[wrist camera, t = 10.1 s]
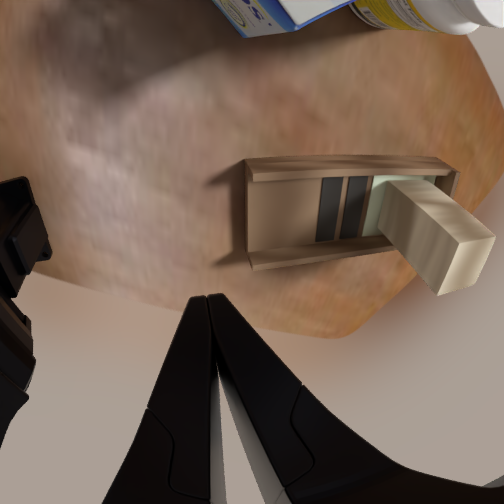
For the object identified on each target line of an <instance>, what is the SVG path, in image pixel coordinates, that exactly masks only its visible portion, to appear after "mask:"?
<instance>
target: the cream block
mask: <svg viewBox="0 0 504 504" xmlns="http://www.w3.org/2000/svg"><path fill="white" fill-rule="evenodd" d="M377 227H378V229H379V230H380V231H381V232H382V233H383V234H384V235H385V236H386V237H387V238H388V239H389V241H390V242H391V243H392V244H393V245H394V246H395V247H396V248H397V250H398V251H399V252H400V253H401V254H402V255H403V256H404V258H405V259H406V260H407V261H408V262H409V263H410V265H411V266H412V267H413V268H414V269H415V270H416V272H417V273H418V274H419V275H420V276H421V278H422V279H423V280H424V281H425V282H426V284H427V285H428V286H429V287H430V289H431V290H432V291H433V292H434V293H435V295H436V296H438V295H442V294H445V293H449V292H452V291H455V290H458V289H462V288H465V287H468V286H471V285H474V284H475V282H476V280H477V278H478V276H479V274H480V272H481V270H482V268H483V266H484V264H485V261H486V259H487V257H488V255H489V253H490V250H491V248H492V246H493V243H494V241H495V239H496V236H495V235H494V234H493V233H492V232H491V231H490V230H488V228H486V227H485V226H484V225H483V224H482V223H481V222H479V221H478V220H477V219H476V218H475V217H474V216H472V215H471V214H470V213H469V212H468V211H466V210H465V209H464V208H463V207H461V206H460V205H459V204H458V203H456V202H455V201H454V200H453V199H451V198H450V197H449V196H447V195H446V194H445V193H443V192H442V191H441V190H440V189H438V188H437V187H436V186H434V185H433V184H431V183H430V182H429V181H427V180H388V181H387V186H386V190H385V195H384V200H383V204H382V209H381V213H380V218H379V222H378V226H377Z"/></svg>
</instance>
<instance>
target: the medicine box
mask: <svg viewBox="0 0 504 504" xmlns="http://www.w3.org/2000/svg"><path fill="white" fill-rule="evenodd" d="M212 1H213V2H214V4H215V5H216V6H217V7H218V8H219V9H220V11H221V12H222V13H223V14H224V15H225V16H226V18H227V19H228V20H229V21H230V22H231V24H232V25H233V26H234V27H235V29H236V30H237V31H238V32H239V33H240V35H241V36H242V37H243V38H250V37H256V36H263V35H270V34H279V33H285V32H294V31H297V30H299V29H300V28H302V27H304V26H306V25H307V24H309V23H311V22H313V21H315V20H317V19H319V18H321V17H323V16H325V15H327V14H329V13H331V12H333V11H335V10H337V9H339V8H341V7H343V6H345V5H347V4H350V3H352V2H354V1H356V0H212Z"/></svg>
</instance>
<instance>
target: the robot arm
mask: <svg viewBox="0 0 504 504" xmlns="http://www.w3.org/2000/svg"><path fill="white" fill-rule="evenodd" d="M20 182H22V183H23V184H24V187H22V186H21V184H20ZM44 252H46V253H47V254H45V253H44ZM51 256H52V249H51V246H50V244H49V241H48V234H47V231H46V228H45V226H44V223H43V220H42V217H41V214H40V211H39V208H38V206H37V205H36V203H35V200H34V197H33V193H32V190H31V187H30V183H29V180H28V179H27V178H26V177H24V176H21V177H17V178H13V179H10V180H6V181H2V182H0V448H1V445H2V442H3V439H4V436H5V434H6V431H7V429H8V426H9V424H10V422H11V420H12V419H13V417H14V416H15V414H16V413H17V411H18V410H19V409H20V408H21V407H22V406H23V405H24V404H25V403H26V402H27V401H28V399H29V395H28V394H27V393H25V392H26V390H27V388H28V387H29V384H30V382H31V378H32V375H33V372H34V368H35V365H36V359H35V357H34V356H33V339H32V336H31V320H30V319H29V318H28V317H27V316H26V315H24V314H23V313H22V312H21V311H20V310H19V308H18V307H17V306H16V305H15V303H14V302H13V301H12V300H11V298H16V297H17V295H18V292H19V290H20V288H21V285H22V283H23V281H24V279H25V277H26V275H29V274H30V273H31V271H32V269H33V266H34V264H35V262H38V261H45V260H49V259H50V258H51ZM217 368H218V369H217ZM218 372H219V377H220V380H221V384H222V386H223V389H224V393H225V396H226V399H227V401H228V405H229V408H230V411H231V413H232V416H233V419H234V422H235V425H236V428H237V431H238V433H239V436H240V439H241V442H242V444H243V447H244V450H245V453H246V455H247V458H248V461H249V463H250V466H251V469H252V471H253V474H254V476H255V479H256V482H257V484H258V487H259V489H260V492H261V494H262V496H263V499H264V502H265V504H504V475H503V476H501V477H500V478H498V479H496V480H494V481H492V482H490V483H488V484H486V485H484V486H482V487H481V486H476V485H471V484H466V483H461V482H457V481H452V480H448V479H444V478H440V477H436V476H433V475H429V474H425V473H422V472H418V471H415V470H412V469H409V468H407V467H404V466H402V465H400V464H398V463H396V462H395V461H393V460H391V459H390V458H389V457H387V456H386V455H384V454H383V453H381V452H380V451H379V450H378V449H376V448H375V447H374V446H372V445H371V444H370V443H368V442H367V441H366V440H364V439H363V438H362V437H361V436H359V435H358V434H357V433H356V432H354V431H353V430H352V429H350V428H349V427H348V426H347V425H345V424H344V423H343V422H342V421H341V420H339V419H338V418H337V417H336V416H335V415H334V414H332V413H331V412H330V411H329V410H328V409H327V408H326V407H325V406H324V405H323V404H322V403H321V402H320V401H319V400H318V399H317V398H316V397H315V396H314V395H313V394H312V393H311V392H310V391H309V390H308V389H307V388H306V387H305V385H302V382H301V381H300V380H299V379H298V378H297V377H296V376H295V375H294V374H293V372H292V371H291V370H290V369H289V368H288V367H287V366H286V365H285V364H284V363H283V362H282V360H281V359H280V358H279V357H278V356H277V355H276V354H275V352H274V351H273V350H272V349H271V348H270V347H269V346H268V345H267V344H266V343H265V341H264V340H263V339H262V338H261V337H260V336H259V334H258V333H257V332H256V331H255V330H254V329H253V328H252V326H251V325H250V324H249V323H248V322H247V321H246V319H245V318H244V317H243V316H242V315H241V314H240V312H239V311H238V310H237V309H236V308H235V307H234V305H233V304H232V303H231V302H230V301H229V300H228V298H227V297H226V296H225V295H224V294H223V293H217V294H209V295H208V296H207V298H206V296H205V295H201V296H194V297H191V298H190V299H189V300H188V303H187V305H186V308H185V310H184V313H183V315H182V318H181V320H180V322H179V325H178V328H177V330H176V332H175V335H174V337H173V340H172V342H171V345H170V348H169V350H168V352H167V355H166V357H165V360H164V363H163V365H162V368H161V370H160V373H159V375H158V378H157V381H156V384H155V386H154V389H153V391H152V394H151V396H150V399H149V402H148V404H147V407H148V409H146V410H145V413H144V415H143V418H142V420H141V423H140V425H139V428H138V430H137V433H136V435H135V438H134V441H133V443H132V445H131V447H130V449H129V451H128V453H127V455H126V457H125V459H124V461H123V463H122V465H121V467H120V469H119V471H118V473H117V475H116V477H115V479H114V481H113V483H112V485H111V487H110V488H109V490H108V492H107V494H106V497H105V498H104V500H103V502H102V504H227V502H226V491H225V477H224V463H223V448H222V432H221V414H220V394H219V377H218Z"/></svg>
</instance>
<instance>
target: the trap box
mask: <svg viewBox="0 0 504 504" xmlns="http://www.w3.org/2000/svg"><path fill="white" fill-rule="evenodd" d="M459 176H460V172H458V171H457V170H455V169H454V168H452V167H451V166H449V165H448V164H446V163H445V162H443V161H441V160H440V159H438V158H436V157H417V156H391V155H315V156H287V157H268V158H252V159H245V250H246V253H247V256H248V259H249V262H250V265H251V268H252V271H257V270H265V269H272V268H279V267H286V266H293V265H300V264H307V263H314V262H321V261H328V260H335V259H341V258H348V257H355V256H361V255H368V254H374V253H381V252H387V251H394V250H397V248H396V247H395V246H394V245H393V244H392V243H391V242H390V241H389V239H388V238H387V237H386V236H385V235H384V234H383V233H382V232H381V231H380V230H379V229H378V227H377V226H378V222H379V218H380V213H381V209H382V204H383V200H384V195H385V190H386V186H387V181H388V180H427V181H429V182H430V183H431V184H433V185H434V186H436V187H437V188H438V189H440V190H441V191H442V192H443V193H445V194H446V195H447V196H449V197H450V198H451V199H453V197H454V194H455V190H456V187H457V183H458V180H459Z"/></svg>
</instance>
